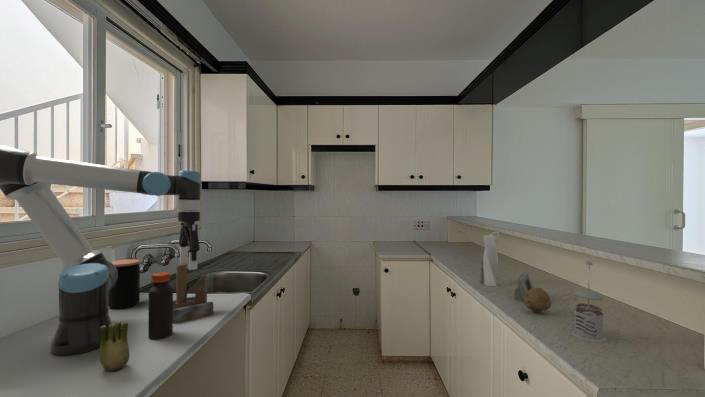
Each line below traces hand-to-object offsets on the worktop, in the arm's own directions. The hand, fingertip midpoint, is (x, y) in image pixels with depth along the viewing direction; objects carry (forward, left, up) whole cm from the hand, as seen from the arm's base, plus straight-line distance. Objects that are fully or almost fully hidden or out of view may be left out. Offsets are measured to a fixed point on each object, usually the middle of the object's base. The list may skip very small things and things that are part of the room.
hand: (188, 266), depth 124 cm
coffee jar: (-18, +27, -19) cm, 37 cm away
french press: (+97, -104, -19) cm, 144 cm away
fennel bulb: (-25, -30, -19) cm, 43 cm away
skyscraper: (+132, -54, -19) cm, 144 cm away
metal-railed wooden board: (0, 0, -18) cm, 18 cm away
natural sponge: (+107, -86, -19) cm, 139 cm away
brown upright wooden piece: (+1, 0, -18) cm, 18 cm away
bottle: (-12, -15, -19) cm, 27 cm away
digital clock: (+123, -76, -19) cm, 146 cm away
